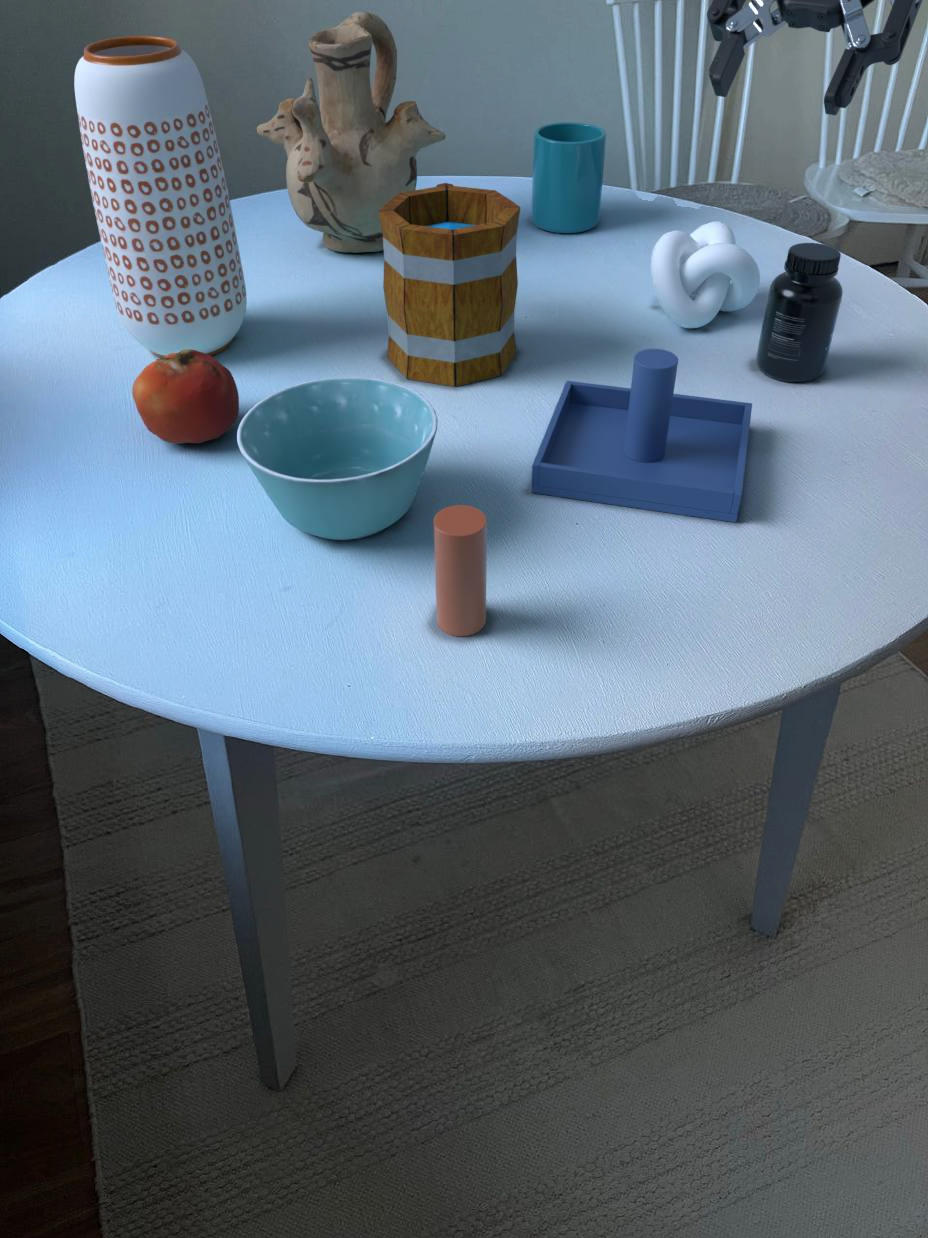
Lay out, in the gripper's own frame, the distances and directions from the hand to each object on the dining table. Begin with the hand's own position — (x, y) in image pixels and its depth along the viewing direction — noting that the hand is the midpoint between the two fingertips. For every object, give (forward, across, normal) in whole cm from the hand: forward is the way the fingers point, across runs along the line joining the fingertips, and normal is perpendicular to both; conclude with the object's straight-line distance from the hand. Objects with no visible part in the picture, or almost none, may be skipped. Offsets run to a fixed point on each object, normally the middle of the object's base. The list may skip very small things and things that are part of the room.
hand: (772, 98), depth 73 cm
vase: (+30, -54, +11) cm, 63 cm away
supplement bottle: (+8, 0, +33) cm, 34 cm away
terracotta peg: (+44, -4, -3) cm, 44 cm away
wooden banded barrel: (+18, -31, +22) cm, 43 cm away
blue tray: (+25, -4, +16) cm, 30 cm away
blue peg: (+24, -4, +15) cm, 29 cm away
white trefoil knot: (+4, -13, +37) cm, 39 cm away
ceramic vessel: (+8, -58, +33) cm, 67 cm away
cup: (-9, -40, +49) cm, 64 cm away
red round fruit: (+39, -40, +2) cm, 56 cm away
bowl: (+40, -20, +1) cm, 45 cm away
